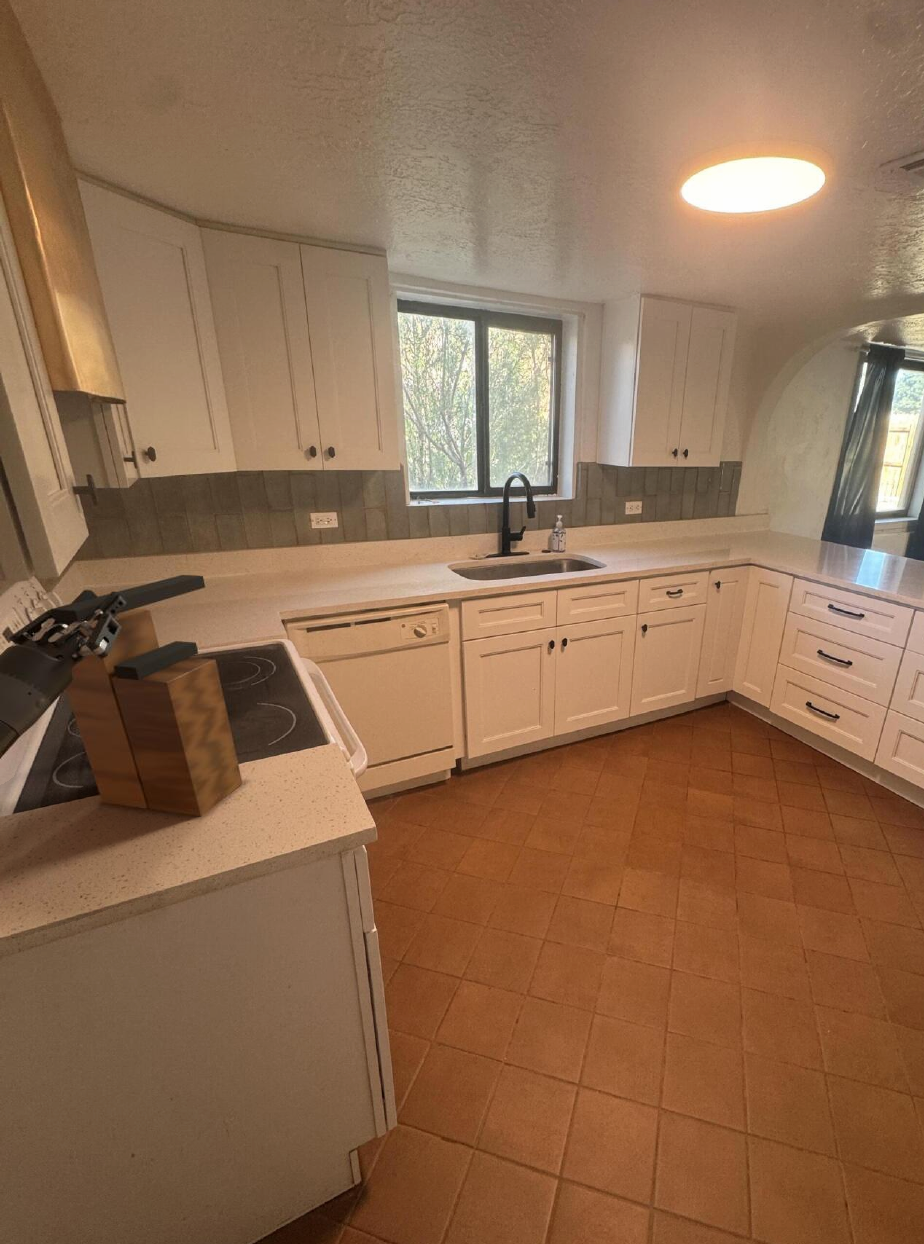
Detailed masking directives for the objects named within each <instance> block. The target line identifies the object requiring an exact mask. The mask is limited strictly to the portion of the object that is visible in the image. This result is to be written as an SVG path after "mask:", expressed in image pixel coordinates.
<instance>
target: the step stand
mask: <svg viewBox="0 0 924 1244" xmlns="http://www.w3.org/2000/svg"><path fill="white" fill-rule="evenodd" d="M114 620H115V621H116V622H117V623H118V624H119V625H120V626H121V629H120V632H119V634H118V636H117V638H116V640H115V642H114V644H113V646H112V648H111V650H110V652H109V654H108V656H106V657H105V658H99V657H98V656H97V655H96V654H94V655H89V656H86V657H85V658H84V659H83V660H82V661H81V662H79V663H77V664H76V665H75V666H74V667H73V668H72V675H73V680H72V682H71V683H70V684H69V686H68V687H67V688H66V689H65V691H66V694H67V697H68V699H69V703H70V707H71V709H72V713H73V716H74V719H75V721H76V725H77V728H78V732H79V734H80V737H81V740H82V743H83V746H84V749H85V752H86V756H87V758H88V759H87V760H88V761H89V765H90V768H91V771H92V774H93V777H94V780H95V783H96V786H97V790H98V793H99V795H100V798H101V802H102V803H104V804H111V805H118V806H124V807H125V806H126V807H133V808H139V809H149V810H154V811H159V812H161V811H162V812H168V813H175V814H182V815H190V816H196V817H202V816H203V815H205V814H206V813H207V812H208V811H209V810H211V809H212V808H214V807H215V806H216V805H217V804H218V803H220V802H221V801H222V800H223V799H225V798H226V797H228V795H230V794H231V793H232V792H233V791H235V790H236V789H237V788H238V787H240V786H241V785H242V784H243V779H242V775H241V769H240V765H239V760H238V756H237V753H236V752H237V751H236V748H235V742H234V738H233V734H232V730H231V725H230V720H229V715H228V710H227V706H226V701H225V698H224V692H223V688H222V685H221V680H220V674H219V669H218V666H217V665H218V664H217V661H216V659H212V658H199V657H189V658H187V659H184V660H182V661H180V662H178V663H175V664H173V665H171V666H169V667H166V668H164V669H162V670H160V671H157V672H155V673H153V674H150V675H148V676H146V677H144V678H141V679H139V680H135V679H124V678H117V677H116V673H115V670H114V667H113V666H115V665H117V664H120V663H122V662H125V661H127V660H130V659H132V658H135V657H137V656H140V655H142V654H145V653H147V652H150V651H152V650H155V649H157V648H160V644H159V640H158V636H157V633H156V629H155V625H154V621H153V617H152V614H151V610H150V609H146V608H145V609H144V608H135V609H132V610H129V611H125V612H122V613H119V614H117V615H116V616H115V617H114ZM97 622H98V620H96V621H94V622H93V623H92V624H91V626H92V627H93V628H95V626H96V624H97ZM79 630H80V631H81V632H82V633H83V634H84V635H85V636H86V637H88V634H87V633H86V632H85V631H84V630H83V629H82V628H80V629H79ZM107 630H109V628H108V629H107Z"/></svg>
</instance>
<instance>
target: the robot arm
mask: <svg viewBox="0 0 924 1244" xmlns="http://www.w3.org/2000/svg"><path fill="white" fill-rule="evenodd" d="M108 594H109V595H108V596H107V597H106V599H105V600H104V601H103V602H102V603H101V604H100V605H99V606H98V607H97V608H96V610H95V611H93V612H92V613H91V614H90V615H88V617H87V618H86V619H85V620H79V621H74V622H73V623H72V624H70V625H69V624H57V622H56V619H53V616H52V613H51V609H48V610H46V611H44V612H43V613H41V614H40V615H39V616H38V617H36V618H34V619H33V620H32V621H30V622H29V623H27V624H26V625H24V626H23V627H22V628H19V630H17V631H16V632H14V633H13V634H11V635H10V636H9V639H8V640H9V641H11V642H12V643H13V644H14V645H10V646H8V647H7V648H6V649H4V650H3V651H2V652H1V653H0V760H1V759H2V758H3V757H4V756H5V754H7V752H8V751H9V750H10V749H11V748H12V746H13V745H14V744H15V743H17V741H18V740H19V738H21V737H22V736H23V735H24V734H25V733H26V732H27V731H28V730H30V729H31V728H32V727H33V726H34V725H35V724H36V723H37V722H38V721H39V720H40V719H41V718H42V716H43V715H44V714H45V713H46V712H47V710H49V709H50V707H51V706H52V705H53V704H54V703H55V702H56V700H58V698H59V697H60V696H61V695H62V694H63V692H64V691H66V688H67V687H68V686H69V684H70V683H71V682H72V680H73V675H72V668H73V667H74V666H75V665H76V664H77V663H79V662H81V661H82V660H83V659H84V658H85V657H86V656H89V655H94V654H96V655H97V656H98V657H99V658H105V657H106V656H108V654H109V652H110V650H111V648H112V646H113V644H114V642H115V640H116V638H117V636H118V634H119V632H120V629H121V626H120V625H119V624H118V623H117V622H116V621H115V620H114V617H115V616H116V615H117V614H118V613H119V612H120V611H121V610H122V609H123V607H124V606H125V605H126V603H127V600H126V599H125V598H124V597H123V596H122V594H121V593H120V592H118V591H111V592H110V593H108ZM95 597H99V595H97V594H96V593H95V592H94V591H93V590H91V589H84V590H82V592H81V593H80V594H79V595H78V596H77V597H76V598H74V599H73V600H72V602H71V603H70V604H72V603H76V602H80V601H84V600H88V599H91V598H95ZM96 620H98V622H97V624H96V626H95V628H93V627H92V626H91V624H92V623H93V622H94V621H96ZM80 628H82V629H83V630H84V631H85V632H86V633H87V634H88V637H86V636H85V635H84V634H83V633H82V632H81V631H80V630H79V629H80ZM108 628H109V630H107V629H108Z"/></svg>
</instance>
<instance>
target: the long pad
mask: <svg viewBox="0 0 924 1244" xmlns="http://www.w3.org/2000/svg"><path fill="white" fill-rule="evenodd" d="M205 588H206V584H205V578H204V576H203V575H195V574H180V575H176V576H173V577H169V578H165V579H162V580H157V581H154V582H150V583H146V584H142V585H138V586H133V587H131V588H127V589H123V590H118V591H117V592H120V593H121V594H122V596H123V597H124V598H125V599H126V600H127V603H126V605H125V606H124V607H123V609H122V610H121V611H120V612H119V613H122V612H125V611H129V610H132V609H140V608H141V607H145V606H148V605H151V604H156V603H158V602H162V601H165V600H169V599H172V598H175V597H179V596H181V595H185V594H188V593H189V594H190V593H192V592H195V591H199V590H202V589H205ZM109 594H110V593H106V594H104V595H98V597H95V598H91V599H88V600H84V601H80V602H76V603H72V602H71V603H72V604H71V603H68V604H65V605H61V606H57V607H54V608H53V607H52V608H50V610H51V613H52V616H53V619H56V622H57V624H69V625H70V624H72V623H73V622H74V621H79V620H85V619H86V618H87V617H88V615H90V614H91V613H92V612H93V611H95V610H96V608H97V607H98V606H99V605H100V604H101V603H102V602H103V601H104V600H105V599H106V597H107V596H108V595H109ZM119 613H118V614H119Z"/></svg>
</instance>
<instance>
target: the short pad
mask: <svg viewBox="0 0 924 1244" xmlns="http://www.w3.org/2000/svg"><path fill="white" fill-rule="evenodd" d="M198 654H199V650H198V645H197V642H196V641H195V642H194V641H193V642H192V641H180V640H175V641H173V642H169V643H167V644H165V645H162V646H159V648H157V649H155V650H152V651H150V652H147V653H145V654H142V655H140V656H137V657H135V658H132V659H130V660H127V661H125V662H122V663H120V664H117V665H115V666H113V667H114V670H115V673H116V677H117V678H124V679H135V680H139V679H141V678H144V677H146V676H148V675H150V674H153V673H155V672H157V671H160V670H162V669H164V668H166V667H169V666H171V665H173V664H175V663H178V662H180V661H182V660H184V659H187V658H192V657H193V656H195V655H198Z"/></svg>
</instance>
